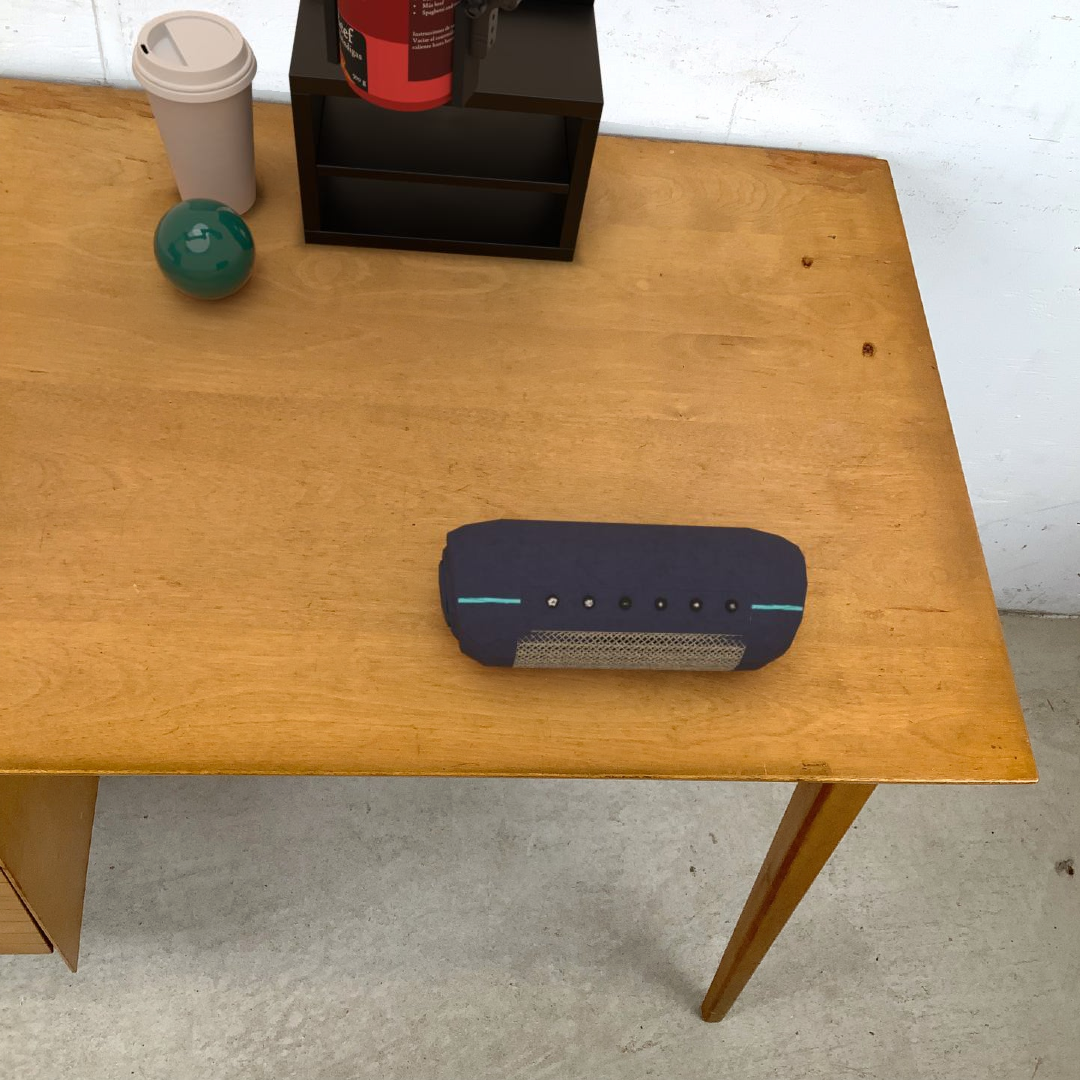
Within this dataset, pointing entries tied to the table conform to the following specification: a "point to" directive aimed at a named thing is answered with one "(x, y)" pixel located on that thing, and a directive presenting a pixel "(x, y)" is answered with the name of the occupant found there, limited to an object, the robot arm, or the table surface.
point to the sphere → (204, 248)
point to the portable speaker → (621, 595)
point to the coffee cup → (201, 103)
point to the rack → (455, 144)
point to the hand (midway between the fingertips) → (403, 73)
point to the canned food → (398, 51)
